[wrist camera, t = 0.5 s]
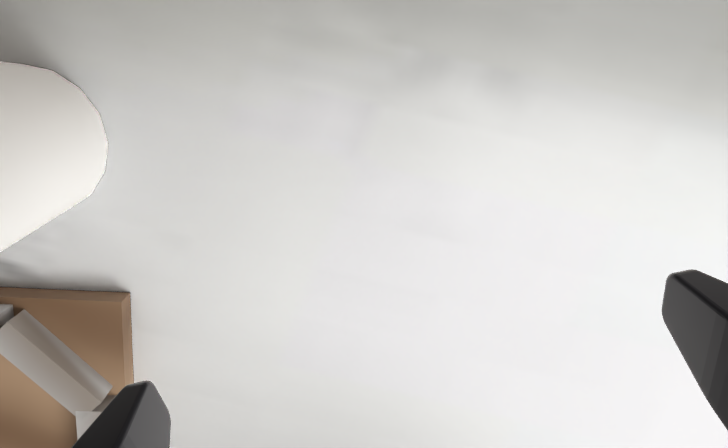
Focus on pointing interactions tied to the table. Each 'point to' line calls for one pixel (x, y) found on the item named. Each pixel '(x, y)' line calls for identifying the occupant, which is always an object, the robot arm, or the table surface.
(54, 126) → the white cup
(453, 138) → the table surface
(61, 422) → the ring board
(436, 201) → the table surface
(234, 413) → the table surface
